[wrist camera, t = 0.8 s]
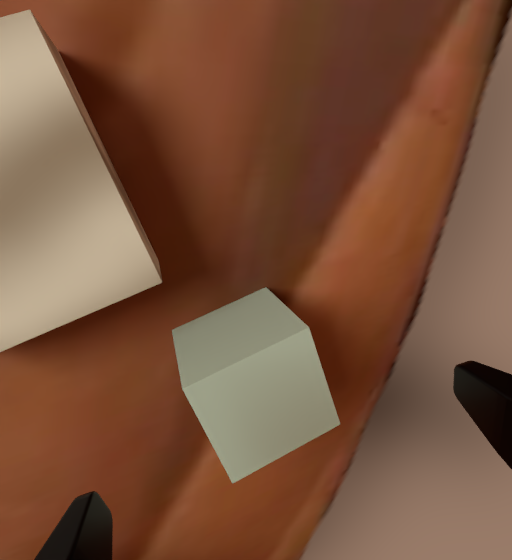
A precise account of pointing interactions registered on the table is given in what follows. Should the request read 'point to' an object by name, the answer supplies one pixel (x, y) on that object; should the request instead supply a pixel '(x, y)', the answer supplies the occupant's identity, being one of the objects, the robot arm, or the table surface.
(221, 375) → the green cube
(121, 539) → the table surface
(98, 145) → the beige square block
